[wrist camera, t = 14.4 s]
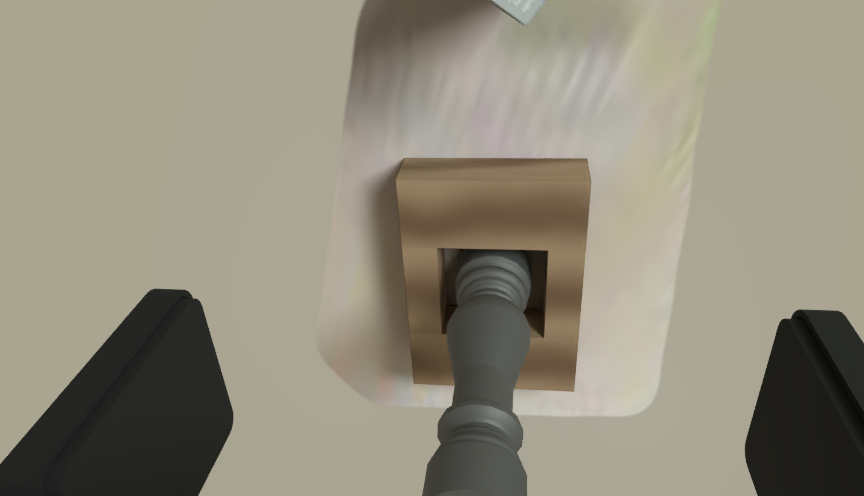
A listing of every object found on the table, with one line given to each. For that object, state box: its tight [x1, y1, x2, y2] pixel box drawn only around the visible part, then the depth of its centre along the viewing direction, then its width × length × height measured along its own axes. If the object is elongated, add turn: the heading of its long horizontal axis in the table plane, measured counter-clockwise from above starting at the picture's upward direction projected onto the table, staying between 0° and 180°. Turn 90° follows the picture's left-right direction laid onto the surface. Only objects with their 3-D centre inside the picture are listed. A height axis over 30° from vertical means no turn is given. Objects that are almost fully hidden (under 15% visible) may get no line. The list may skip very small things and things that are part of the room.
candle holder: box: [422, 249, 531, 496], centre depth 45 cm, size 6×6×25 cm
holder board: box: [396, 158, 591, 392], centre depth 54 cm, size 20×14×4 cm
